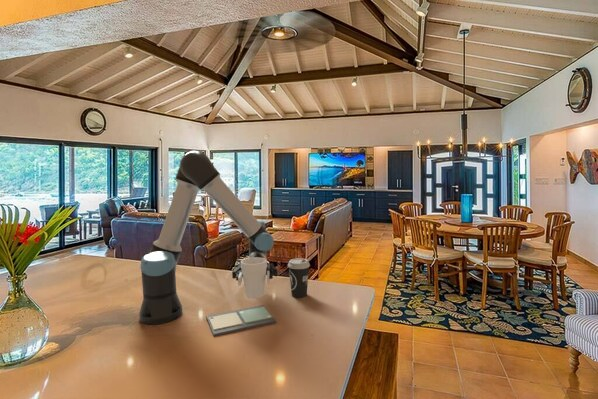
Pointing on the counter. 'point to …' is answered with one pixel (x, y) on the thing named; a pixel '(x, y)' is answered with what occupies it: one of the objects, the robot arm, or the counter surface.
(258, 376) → the counter surface
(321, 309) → the counter surface
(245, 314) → the tile board
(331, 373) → the counter surface
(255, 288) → the foam cup
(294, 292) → the coffee cup
